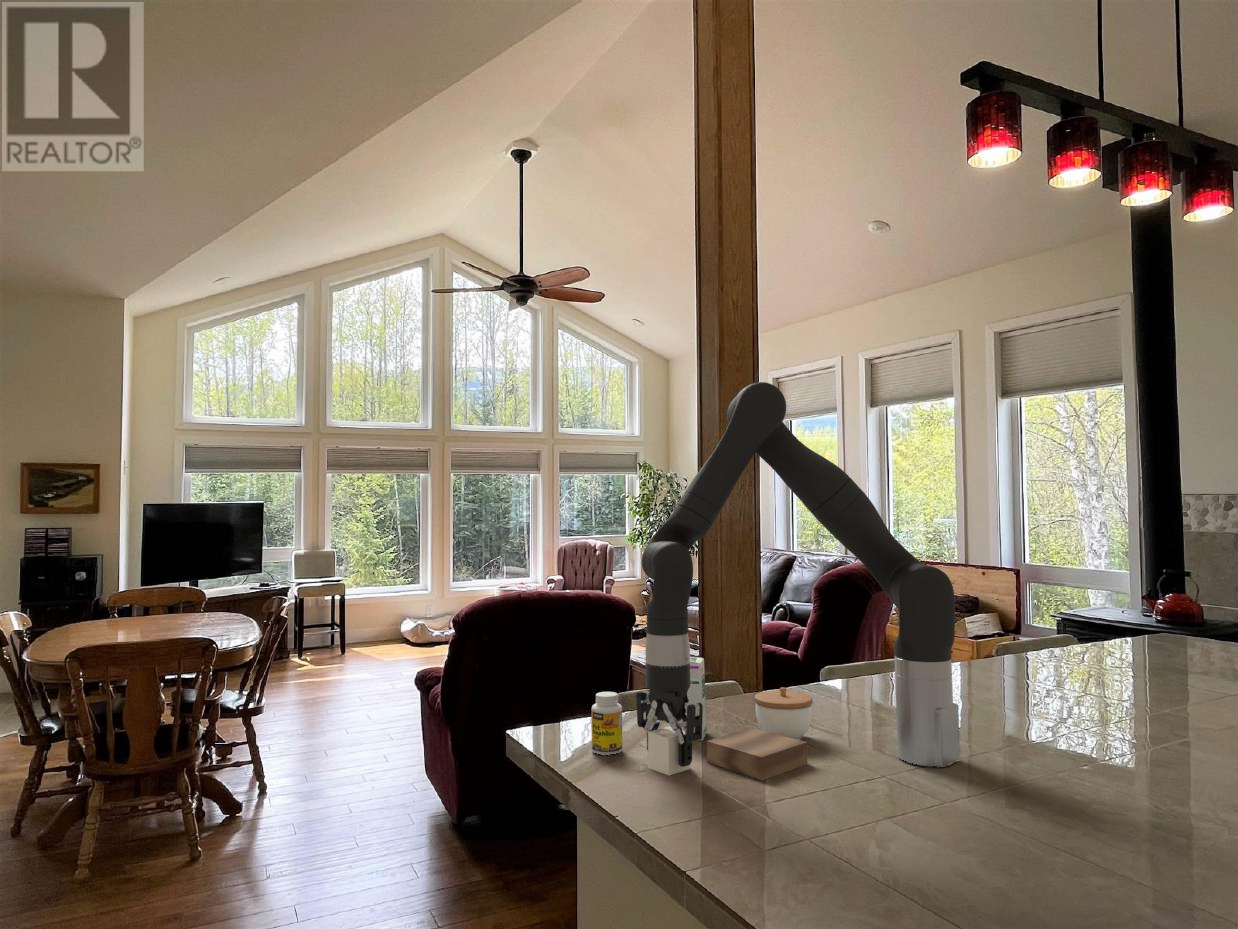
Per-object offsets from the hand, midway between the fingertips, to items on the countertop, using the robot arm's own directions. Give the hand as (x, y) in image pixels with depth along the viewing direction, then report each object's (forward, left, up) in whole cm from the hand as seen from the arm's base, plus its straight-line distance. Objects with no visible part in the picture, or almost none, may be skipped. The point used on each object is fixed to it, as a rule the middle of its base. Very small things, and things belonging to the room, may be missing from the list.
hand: (669, 760), depth 132 cm
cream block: (0, 0, -1) cm, 1 cm away
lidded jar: (-2, -28, -2) cm, 28 cm away
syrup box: (+11, -16, -2) cm, 19 cm away
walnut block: (-8, -13, -2) cm, 15 cm away
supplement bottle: (+14, +2, -2) cm, 14 cm away
